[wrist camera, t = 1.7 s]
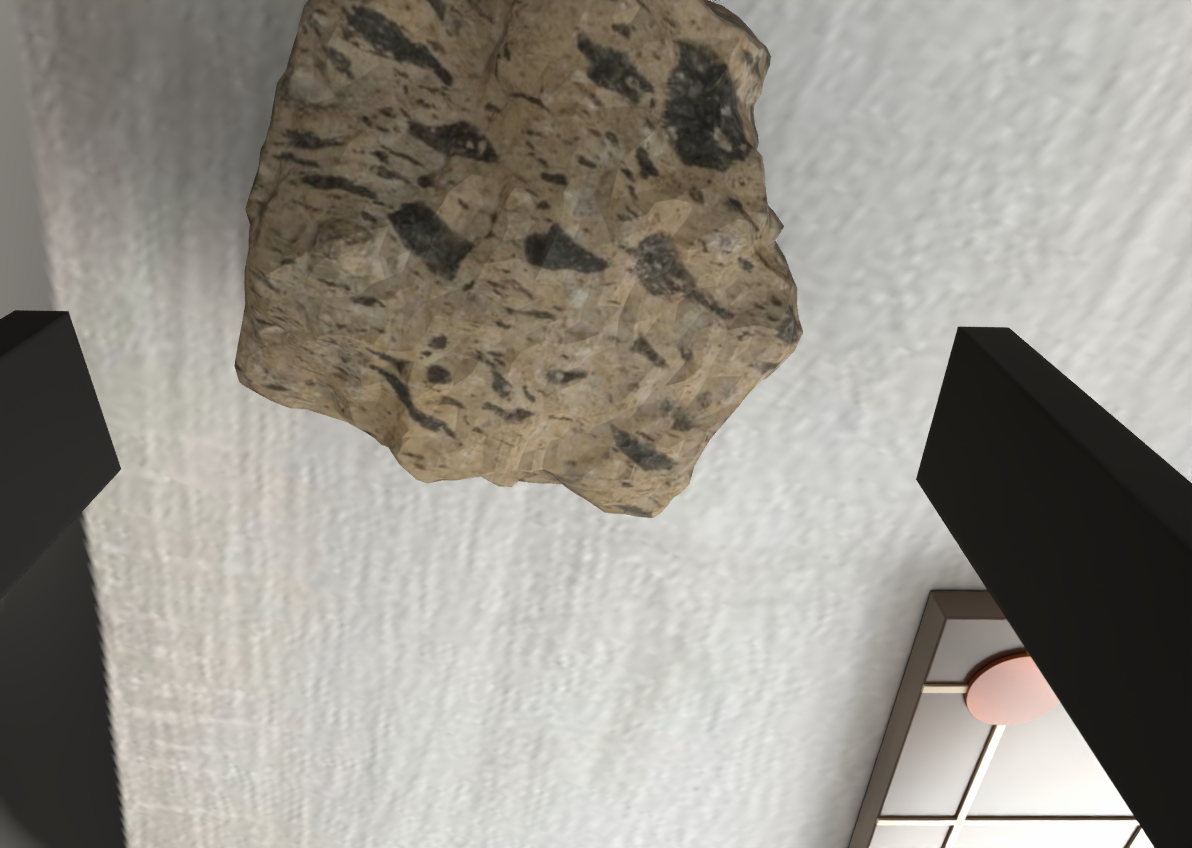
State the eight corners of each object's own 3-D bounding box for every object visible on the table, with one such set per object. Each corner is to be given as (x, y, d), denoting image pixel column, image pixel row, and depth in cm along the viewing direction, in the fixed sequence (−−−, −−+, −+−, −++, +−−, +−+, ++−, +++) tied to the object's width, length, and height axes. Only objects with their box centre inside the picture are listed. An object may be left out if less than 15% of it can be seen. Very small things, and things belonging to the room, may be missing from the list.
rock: (881, 102, 17) (968, 146, 13) (630, 493, 22) (642, 603, 19) (395, -187, 14) (333, -233, 11) (238, 338, 20) (160, 431, 16)
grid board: (930, 589, 24) (947, 622, 23) (1553, 594, 25) (1602, 625, 24) (821, 931, 35) (829, 965, 33) (1265, 929, 35) (1288, 963, 34)
